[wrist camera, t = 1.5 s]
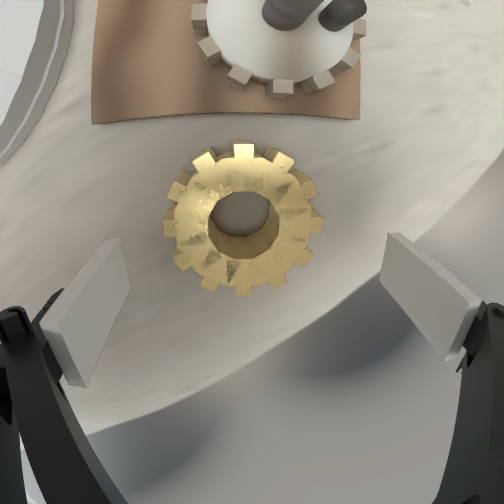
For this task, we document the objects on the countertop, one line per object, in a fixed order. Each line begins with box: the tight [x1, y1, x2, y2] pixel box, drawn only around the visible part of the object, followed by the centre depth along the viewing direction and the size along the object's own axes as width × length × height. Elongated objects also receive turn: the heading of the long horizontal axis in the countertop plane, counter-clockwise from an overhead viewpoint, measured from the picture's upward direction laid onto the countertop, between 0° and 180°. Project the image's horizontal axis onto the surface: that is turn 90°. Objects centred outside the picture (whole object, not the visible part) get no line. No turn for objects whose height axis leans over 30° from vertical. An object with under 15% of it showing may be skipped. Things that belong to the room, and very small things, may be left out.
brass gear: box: [162, 141, 323, 297], centre depth 20 cm, size 10×10×4 cm
